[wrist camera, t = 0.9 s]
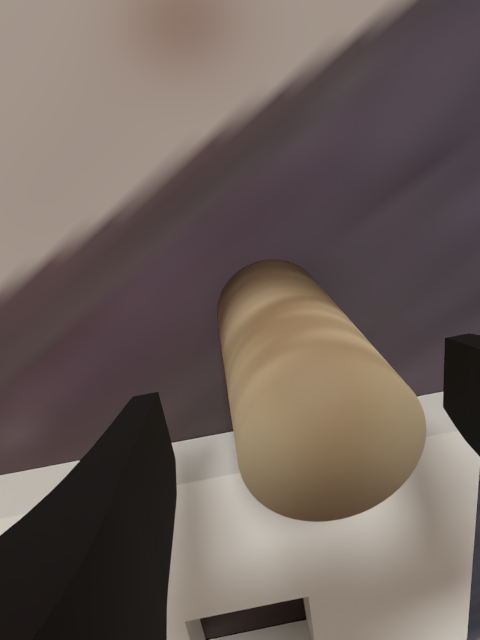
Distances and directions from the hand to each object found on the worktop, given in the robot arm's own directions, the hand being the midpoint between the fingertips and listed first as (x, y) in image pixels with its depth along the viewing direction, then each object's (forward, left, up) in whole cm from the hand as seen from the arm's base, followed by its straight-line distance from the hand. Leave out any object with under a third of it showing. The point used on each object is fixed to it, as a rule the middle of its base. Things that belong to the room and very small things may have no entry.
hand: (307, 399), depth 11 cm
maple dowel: (0, 0, -6) cm, 6 cm away
